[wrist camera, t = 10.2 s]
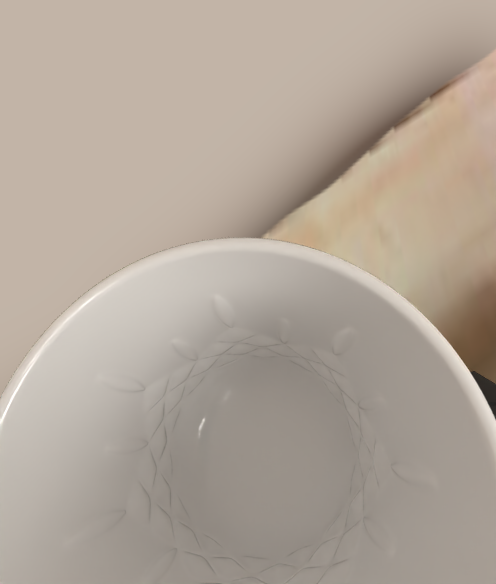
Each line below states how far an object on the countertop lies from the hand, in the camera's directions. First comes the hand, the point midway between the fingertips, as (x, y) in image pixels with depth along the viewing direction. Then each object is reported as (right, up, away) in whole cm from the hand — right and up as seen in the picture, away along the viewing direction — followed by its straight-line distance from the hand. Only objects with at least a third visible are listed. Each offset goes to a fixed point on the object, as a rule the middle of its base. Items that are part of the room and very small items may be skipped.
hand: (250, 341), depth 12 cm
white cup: (+1, -4, +2) cm, 5 cm away
